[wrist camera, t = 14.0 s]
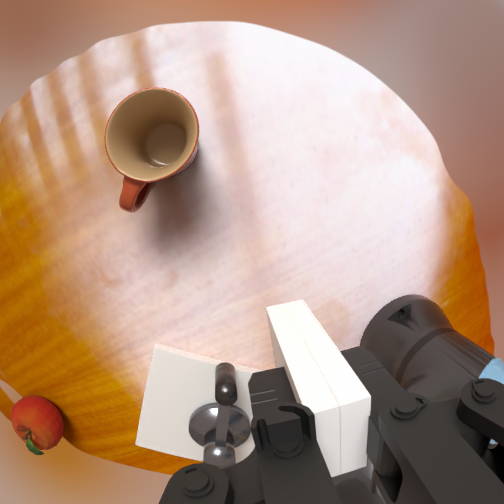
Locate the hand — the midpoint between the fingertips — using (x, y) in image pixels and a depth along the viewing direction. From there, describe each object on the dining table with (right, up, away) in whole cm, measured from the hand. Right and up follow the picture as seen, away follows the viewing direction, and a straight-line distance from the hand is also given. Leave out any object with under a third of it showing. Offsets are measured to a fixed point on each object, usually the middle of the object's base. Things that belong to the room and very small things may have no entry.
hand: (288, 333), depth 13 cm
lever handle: (-6, -20, +29) cm, 36 cm away
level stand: (-7, -21, +31) cm, 38 cm away
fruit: (-37, -24, +29) cm, 52 cm away
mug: (-12, +14, +23) cm, 30 cm away
